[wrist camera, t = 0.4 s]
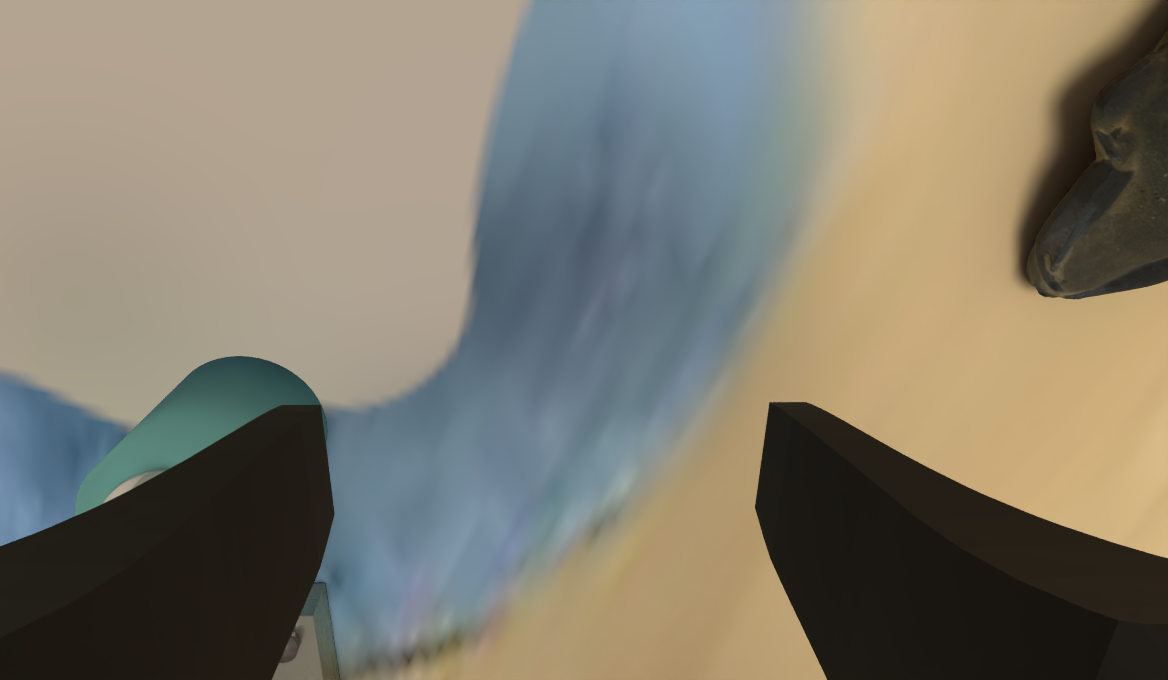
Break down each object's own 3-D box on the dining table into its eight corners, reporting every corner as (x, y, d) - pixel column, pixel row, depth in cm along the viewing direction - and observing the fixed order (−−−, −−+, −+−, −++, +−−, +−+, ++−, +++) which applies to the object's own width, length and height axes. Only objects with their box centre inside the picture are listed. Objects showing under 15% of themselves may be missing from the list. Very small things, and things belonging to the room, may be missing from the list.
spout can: (335, 486, 23) (268, 637, 17) (187, 489, 23) (69, 644, 17) (317, 355, 21) (237, 474, 16) (157, 357, 21) (15, 479, 15)
